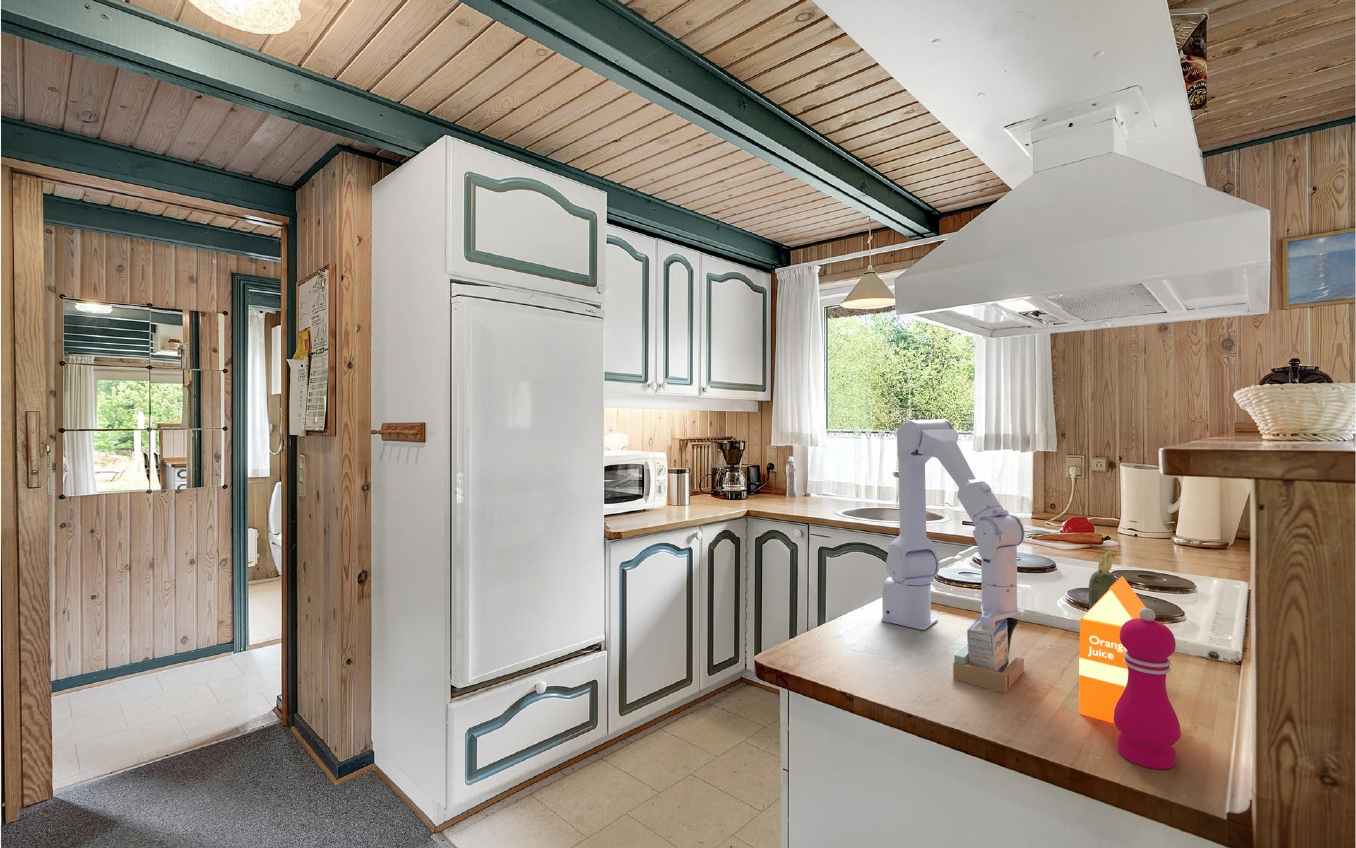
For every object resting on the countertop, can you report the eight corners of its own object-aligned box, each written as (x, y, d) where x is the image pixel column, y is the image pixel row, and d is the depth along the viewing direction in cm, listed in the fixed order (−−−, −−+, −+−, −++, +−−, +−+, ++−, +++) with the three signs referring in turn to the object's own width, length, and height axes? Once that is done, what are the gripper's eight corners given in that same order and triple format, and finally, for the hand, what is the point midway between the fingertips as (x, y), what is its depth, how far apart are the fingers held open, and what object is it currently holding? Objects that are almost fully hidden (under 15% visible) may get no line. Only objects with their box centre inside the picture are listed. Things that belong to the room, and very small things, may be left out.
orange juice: (1078, 713, 97) (1078, 583, 96) (1093, 694, 103) (1093, 571, 103) (1140, 731, 91) (1142, 593, 91) (1152, 710, 98) (1153, 580, 97)
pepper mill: (1192, 775, 81) (1194, 619, 80) (1128, 769, 82) (1130, 616, 82) (1161, 744, 88) (1163, 601, 87) (1103, 740, 89) (1104, 598, 89)
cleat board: (953, 679, 109) (953, 656, 109) (990, 644, 125) (990, 623, 125) (1005, 693, 104) (1005, 669, 104) (1037, 654, 119) (1037, 633, 119)
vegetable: (1089, 660, 116) (1090, 551, 115) (1087, 652, 120) (1087, 546, 119) (1118, 665, 114) (1119, 553, 113) (1115, 656, 118) (1116, 548, 117)
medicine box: (996, 684, 107) (994, 634, 107) (968, 676, 110) (966, 628, 110) (1009, 664, 113) (1007, 617, 112) (982, 658, 116) (981, 612, 115)
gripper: (1012, 596, 107) (1013, 676, 107) (1034, 577, 117) (1034, 650, 118) (967, 588, 111) (968, 666, 112) (992, 571, 122) (993, 642, 122)
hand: (999, 657), depth 115 cm, fingers closed, pressing on medicine box
